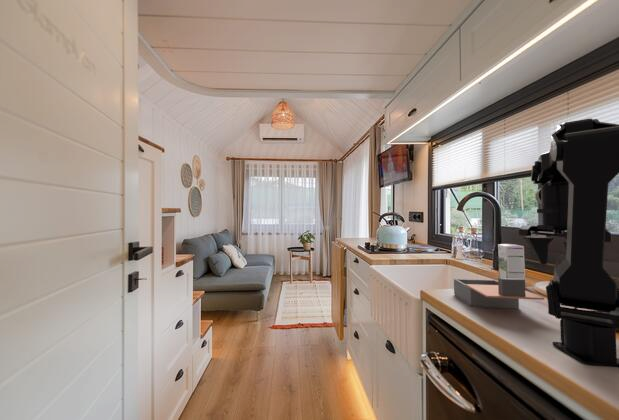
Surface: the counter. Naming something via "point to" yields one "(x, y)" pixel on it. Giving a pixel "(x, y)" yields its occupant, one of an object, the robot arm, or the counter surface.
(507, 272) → the syrup box
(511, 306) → the grey open tray
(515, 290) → the lid
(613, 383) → the counter surface
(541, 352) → the counter surface
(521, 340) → the counter surface
